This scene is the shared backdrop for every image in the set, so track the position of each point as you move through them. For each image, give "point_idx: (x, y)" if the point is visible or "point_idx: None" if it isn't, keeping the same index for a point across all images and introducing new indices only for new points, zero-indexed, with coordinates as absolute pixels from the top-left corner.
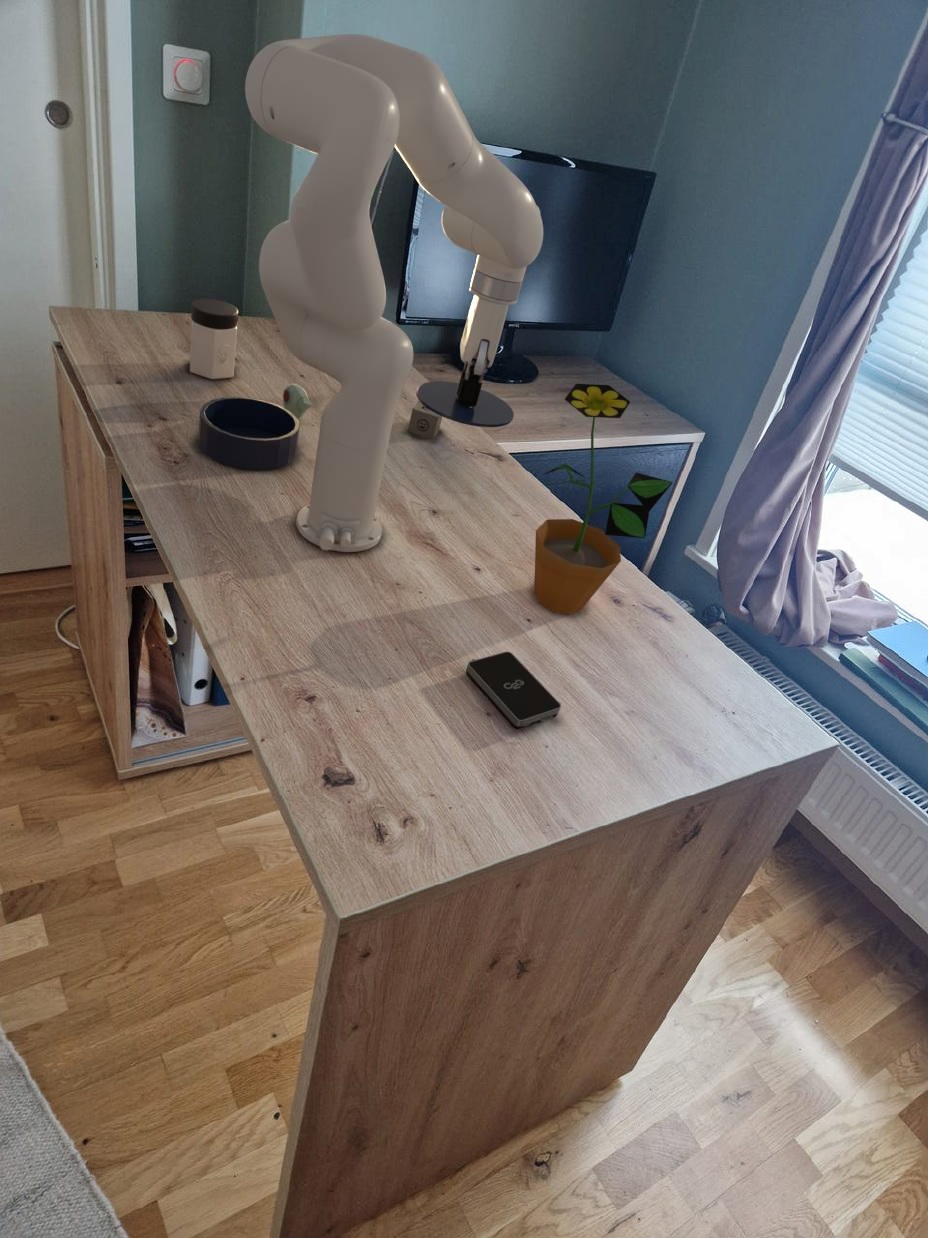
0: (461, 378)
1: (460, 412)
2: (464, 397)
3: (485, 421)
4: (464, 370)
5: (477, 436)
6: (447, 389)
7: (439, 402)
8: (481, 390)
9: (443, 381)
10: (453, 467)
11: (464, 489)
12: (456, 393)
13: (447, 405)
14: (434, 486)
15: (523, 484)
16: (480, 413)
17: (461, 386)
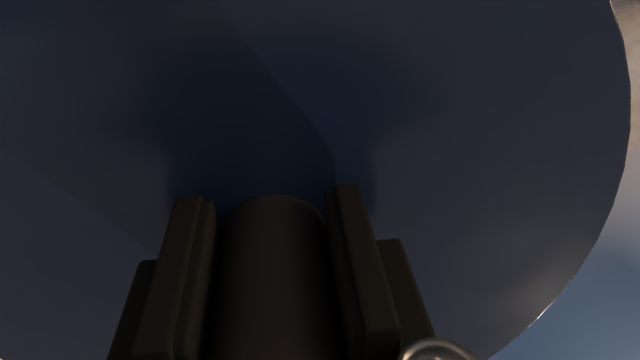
0: (352, 283)
1: (33, 219)
2: (135, 273)
3: (34, 347)
4: (398, 355)
5: (635, 137)
6: (447, 101)
7: (88, 55)
8: (542, 295)
9: (617, 58)
10: None
11: None
12: (402, 169)
13: (82, 124)
14: None
15: None
16: None
17: (150, 293)
